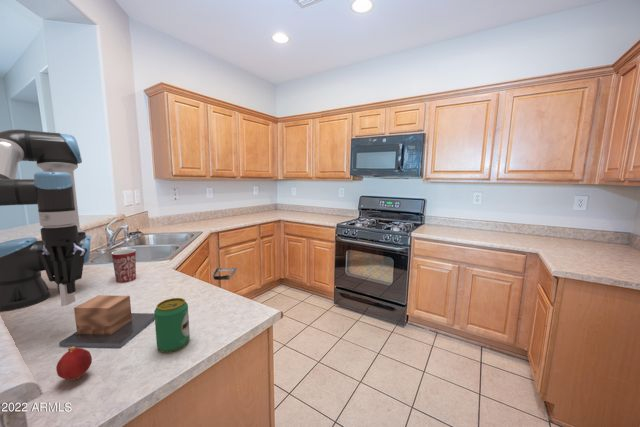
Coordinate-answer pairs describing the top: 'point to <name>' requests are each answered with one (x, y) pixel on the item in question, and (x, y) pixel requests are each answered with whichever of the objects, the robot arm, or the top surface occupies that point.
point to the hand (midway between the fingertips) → (68, 303)
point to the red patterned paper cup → (124, 265)
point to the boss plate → (114, 339)
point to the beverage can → (172, 324)
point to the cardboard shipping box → (102, 314)
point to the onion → (74, 363)
